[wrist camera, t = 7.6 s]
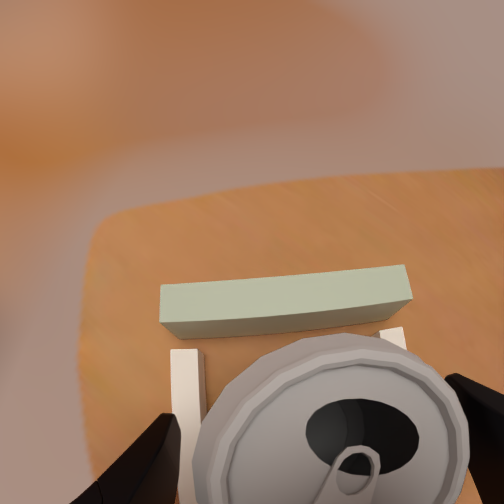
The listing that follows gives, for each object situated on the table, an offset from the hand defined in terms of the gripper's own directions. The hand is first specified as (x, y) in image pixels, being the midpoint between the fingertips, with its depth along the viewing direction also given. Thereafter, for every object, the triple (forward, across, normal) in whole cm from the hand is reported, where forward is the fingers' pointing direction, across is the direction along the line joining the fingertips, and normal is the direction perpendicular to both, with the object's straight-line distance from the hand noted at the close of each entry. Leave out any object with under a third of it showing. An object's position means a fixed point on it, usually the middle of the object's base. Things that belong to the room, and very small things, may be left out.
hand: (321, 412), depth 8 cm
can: (+5, 0, +7) cm, 9 cm away
